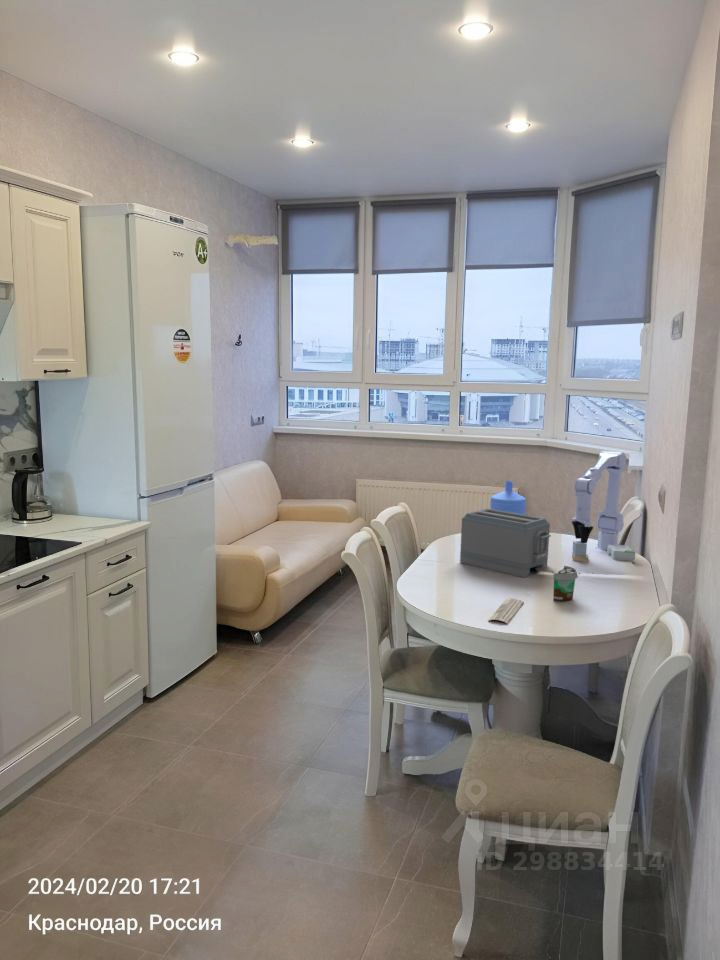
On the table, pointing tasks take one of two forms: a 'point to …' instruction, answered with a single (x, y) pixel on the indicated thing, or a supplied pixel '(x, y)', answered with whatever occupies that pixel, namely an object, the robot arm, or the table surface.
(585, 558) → the tower top
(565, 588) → the food container
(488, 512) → the toaster
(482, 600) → the table surface
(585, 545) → the block
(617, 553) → the ink box
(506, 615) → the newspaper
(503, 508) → the water jug
